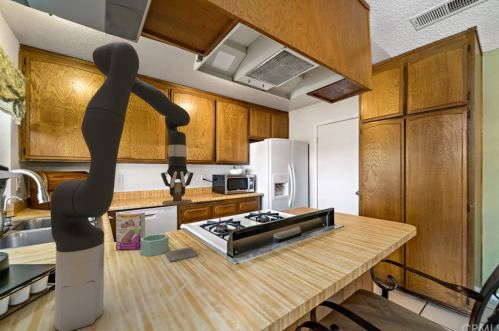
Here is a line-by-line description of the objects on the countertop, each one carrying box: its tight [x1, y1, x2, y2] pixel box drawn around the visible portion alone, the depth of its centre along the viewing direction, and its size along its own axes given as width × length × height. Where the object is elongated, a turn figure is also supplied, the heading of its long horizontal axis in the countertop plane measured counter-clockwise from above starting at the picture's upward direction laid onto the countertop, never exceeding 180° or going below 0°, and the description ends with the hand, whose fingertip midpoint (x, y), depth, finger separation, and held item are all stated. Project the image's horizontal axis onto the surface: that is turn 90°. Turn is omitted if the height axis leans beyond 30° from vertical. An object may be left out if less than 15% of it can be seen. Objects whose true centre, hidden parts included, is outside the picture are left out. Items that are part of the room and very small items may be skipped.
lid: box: [161, 181, 193, 206], centre depth 91 cm, size 12×12×9 cm
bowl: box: [139, 233, 170, 257], centre depth 94 cm, size 11×11×6 cm
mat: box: [165, 246, 199, 263], centre depth 90 cm, size 11×11×1 cm
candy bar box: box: [115, 211, 146, 251], centre depth 99 cm, size 11×5×16 cm, turn 92°
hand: (177, 195), depth 91 cm, fingers closed on lid, 3 cm apart
